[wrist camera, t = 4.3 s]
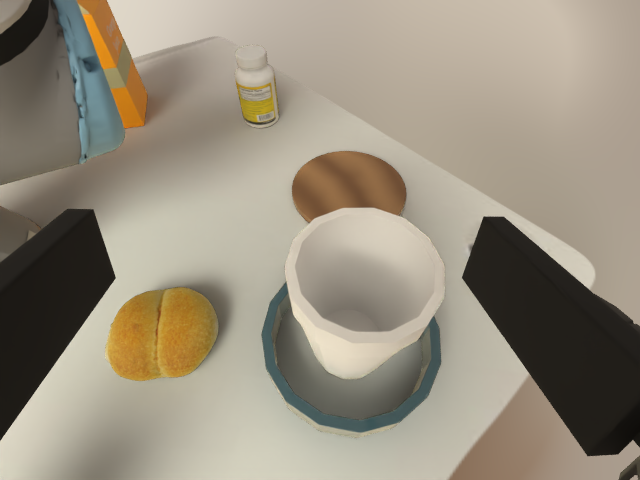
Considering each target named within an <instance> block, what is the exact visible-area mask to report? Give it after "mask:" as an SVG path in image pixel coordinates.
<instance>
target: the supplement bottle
mask: <svg viewBox="0 0 640 480" xmlns="http://www.w3.org/2000/svg"><path fill="white" fill-rule="evenodd" d="M235 54H236V60H237V64H238V66H239V67H238V68H237V69H236V71H235V81H236V85H237V90H238V94H239V99H240V104H241V108H242V113H243V117H244V120H245V122H246V123H247V124H248V125H250V126H252V127H256V128H265V127H269V126H271V125H273V124H275V123H276V122H277V120H278V119H279V108H278V100H277V92H276V83H275V75H274V70H273V68H272V67H271V66H270V65H269V64H267V54H266V50H265V48H264V47H261V46H258V45H247V46H243V47H240V48H239V49H237V50H236V53H235Z"/></svg>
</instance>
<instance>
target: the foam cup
mask: <svg viewBox="0 0 640 480" xmlns="http://www.w3.org/2000/svg"><path fill="white" fill-rule="evenodd" d="M284 267H285V274H286V281H287V287H288V292H289V297H290V301H291V306H292V311H293V316H294V317H295V318H296V319H297V321H298V322H299V323H300V324H301V325H302V328H303V330H304V332H305V334H306V336H307V339H308V341H309V343H310V345H311V347H312V350H313V352H314V354H315V356H316V358H317V360H318V361H319V362H320V363H321V365H322V366H323V367H324V368H325V370H326V371H327V372H329V373H331V374H333V375H335V376H337V377H339V378H341V379H360V378H362V377H364V376H366V375H367V374H369V373H371V372H373V371H374V370H376V369H377V368H378V367H380V366H381V365H382V364H383V363H385V362H386V361H387V360H388V359H389V358H391V357H392V356H393V355H394V354H396V353H397V352H398V351H399V350H401V349H403V348H405V347H407V346H409V345H410V344H412V343H414V342H416V341H417V340H418V339H419V337H420V336H421V334H422V333H423V331H424V330H425V328H426V327H427V325H428V324H429V322H430V320H431V319H432V317H433V315H434V314H435V312H436V310H437V309H438V307H439V306H440V304H441V302H442V301H443V299H444V297H445V265H444V263H443V261H442V260H441V258H440V256H439V254H438V252H437V251H436V249H435V247H434V245H433V243H432V241H431V240H430V238H429V237H428V236H427V235H425V234H424V233H423V232H422V231H420V230H419V229H418V228H417V227H415V226H414V225H413V224H411V223H410V222H409V221H408V220H406V219H405V218H403V217H400V216H397V215H394V214H391V213H388V212H385V211H382V210H379V209H376V208H341V209H338V210H336V211H333V212H330V213H328V214H325V215H322V216H320V217H317V218H314V219H313V220H312V221H311V222H310V223H309V224H308V225H307V226H306V227H305V228H304V229H303V230H302V231H301V232H300V233H299V234H298V235H297V236H296V237H295V238H294V239H293V242H292V245H291V248H290V251H289V254H288V257H287V260H286V263H285V266H284Z"/></svg>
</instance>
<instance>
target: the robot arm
mask: <svg viewBox="0 0 640 480" xmlns="http://www.w3.org/2000/svg"><path fill="white" fill-rule="evenodd" d="M124 137H125V130H124V126H123V122H122V119H121V116H120V113H119V111H118V108H117V105H116V102H115V100H114V97H113V94H112V91H111V89H110V86H109V83H108V81H107V78H106V76H105V73H104V71H103V68H102V66H101V64H100V60H99V57H98V55H97V52H96V50H95V47H94V43H93V41H92V38H91V35H90V33H89V30H88V28H87V25H86V22H85V20H84V17H83V15H82V12H81V10H80V7H79V5H78V2H77V0H0V185H3V184H7V183H10V182H14V181H17V180H21V179H25V178H28V177H32V176H36V175H39V174H43V173H47V172H50V171H54V170H57V169H61V168H65V167H68V166H72V165H76V164H82V163H85V162H86V161H87V160H88V159H91V158H93V157H96V156H99V155H102V154H104V153H107V152H110V151H113V150H115V149H116V148H118V147H119V146H120V145H121V144H122V142H123V140H124ZM115 278H116V277H115V274H114V271H113V268H112V265H111V262H110V259H109V256H108V253H107V250H106V247H105V244H104V241H103V238H102V235H101V232H100V229H99V226H98V223H97V219H96V216H95V213H94V210H93V209H67V210H66V211H64V212H63V213H62V214H61V215H59V216H58V217H57V218H56V219H54V220H53V221H52V222H50V223H49V224H48V225H47V226H45V227H44V228H43V229H41V228H40V227H39V226H38V225H36V224H35V223H34V222H33V221H31V220H29V219H28V218H25V217H23V216H21V215H19V214H17V213H14V212H12V211H10V210H8V209H5V208H3V207H1V206H0V440H1V439H2V437H3V436H4V435H5V433H6V432H7V430H8V429H9V428H10V426H11V425H12V423H13V422H14V421H15V419H16V418H17V416H18V415H19V414H20V412H21V411H22V409H23V408H24V407H25V405H26V404H27V402H28V401H29V399H30V398H31V397H32V395H33V394H34V392H35V391H36V390H37V388H38V387H39V385H40V384H41V383H42V381H43V380H44V378H45V377H46V376H47V374H48V373H49V371H50V370H51V368H52V367H53V366H54V364H55V363H56V361H57V360H58V359H59V357H60V356H61V354H62V353H63V352H64V350H65V349H66V347H67V346H68V345H69V343H70V342H71V340H72V339H73V338H74V336H75V335H76V333H77V332H78V330H79V329H80V328H81V326H82V325H83V323H84V322H85V321H86V319H87V318H88V316H89V315H90V314H91V312H92V311H93V309H94V308H95V307H96V305H97V304H98V302H99V301H100V299H101V298H102V297H103V295H104V294H105V292H106V291H107V290H108V288H109V287H110V285H111V284H112V283H113V281H114V280H115ZM462 279H463V280H464V281H465V283H466V284H467V286H468V287H469V288H470V290H471V291H472V293H473V294H474V296H475V297H476V298H477V300H478V301H479V303H480V304H481V305H482V307H483V308H484V310H485V311H486V313H487V314H488V315H489V317H490V318H491V320H492V321H493V322H494V324H495V325H496V327H497V328H498V330H499V331H500V332H501V334H502V335H503V337H504V338H505V339H506V341H507V342H508V344H509V345H510V347H511V348H512V349H513V351H514V352H515V354H516V355H517V356H518V358H519V359H520V361H521V362H522V364H523V365H524V366H525V368H526V369H527V371H528V372H529V374H530V375H531V376H532V378H533V379H534V381H535V382H536V383H537V385H538V386H539V388H540V389H541V390H542V392H543V393H544V395H545V396H546V398H547V399H548V400H549V402H550V403H551V405H552V406H553V408H554V409H555V410H556V412H557V413H558V415H559V416H560V417H561V419H562V420H563V422H564V423H565V425H566V426H567V427H568V429H569V430H570V432H571V433H572V434H573V436H574V437H575V439H576V440H577V442H578V443H579V444H580V446H581V447H582V449H583V450H584V451H585V453H586V454H587V456H599V455H616V454H619V453H620V452H621V451H622V450H623V449H624V448H625V447H626V446H627V445H628V444H629V443H630V442H631V441H632V440H634V441H635V443H636V444H637V445H638V446H639V447H640V326H639V325H637V324H634V323H633V320H631V319H630V318H629V317H628V316H627V315H625V314H624V313H623V312H622V311H621V310H619V309H618V308H617V307H616V306H614V305H612V304H611V303H609V302H607V301H605V300H604V299H602V298H600V297H599V296H597V295H595V294H593V293H592V292H591V291H590V290H589V289H588V288H586V287H585V286H584V285H583V284H582V283H581V282H579V281H578V280H577V279H576V278H575V277H574V276H572V275H571V274H570V273H569V272H568V271H567V270H565V269H564V268H563V267H562V266H561V265H560V264H558V263H557V262H556V261H555V260H554V259H553V258H551V257H550V256H549V255H548V254H547V253H546V252H544V251H543V250H542V249H541V248H540V247H539V246H537V245H536V244H535V243H534V242H533V241H532V240H530V239H529V238H528V237H527V236H526V235H525V234H523V233H522V232H521V231H520V230H519V229H518V228H516V227H515V226H514V225H513V224H512V223H511V222H509V221H508V220H507V219H506V218H505V217H483V220H482V223H481V226H480V228H479V231H478V234H477V237H476V240H475V242H474V245H473V248H472V251H471V254H470V256H469V259H468V262H467V265H466V268H465V270H464V273H463V276H462ZM634 475H638V480H640V456H639V457H638V458H636V459H635V460H634V461H633V462H632V463H631V464H630V465H629V466H628V467H627V468H626V469H624V470H623V471H622V472H621V473H620V477H619V480H630V478H632V477H633V476H634Z"/></svg>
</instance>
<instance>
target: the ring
mask: <svg viewBox="0 0 640 480" xmlns="http://www.w3.org/2000/svg"><path fill="white" fill-rule="evenodd" d="M290 306H291V301H290V297H289V292H288V287H287V281H286V283H285V284H284V285H283V286H282V288H281V289H280V290H279V292H278V293H277V294H276V295H275V297H274V298H273V299H272V301H271V302H270V305H269V308H268V312H267V315H266V319H265V323H264V326H263V330H262V342H263V349H264V357H265V364H266V369H267V372H268V374H269V376H270V379H271V381H272V382H273V384H274V386H275V387H276V389H277V391H278V392H279V394H280V396H281V397H282V399H283V401H284V402H285V404H286V406H287V407H288V409H289V410H290V411H292V412H293V413H294V414H296V415H297V416H299V417H300V418H301V419H303V420H304V421H306V422H307V423H308V424H310V425H311V426H313V427H314V428H316V429H317V430H318V431H320V432H326V433H331V434H336V435H342V436H347V437H352V438H360V437H363V436H367V435H370V434H374V433H378V432H381V431H385V430H389V429H392V428H394V427H395V426H396V425H397V424H398V423H400V422H401V421H402V420H403V419H404V418H405V417H406V416H407V415H408V414H410V413H411V412H412V411H413V410H414V409H415V408H416V407H417V406H418V405H420V404H421V403H422V402H423V401H424V400H425V399H426V398H427V397H428V396H429V393H430V390H431V388H432V385H433V383H434V380H435V378H436V375H437V373H438V370H439V367H440V365H441V349H440V330H439V326H438V324H437V322H436V320H435V318H434V315H433V317H432V319H431V320H430V322H429V324H428V325H427V327H426V328H425V330H424V331H423V333H422V334H421V336H420V338H421V346H422V371H421V373H420V375H419V378H418V380H417V383H416V385H415V387H414V390H413V392H412V394H411V396H410V397H409V398H408V399H407V400H405V401H404V402H403V403H402V404H401V405H400V406H399V407H397V408H396V409H395V410H394V411H392V412H388V413H384V414H381V415H377V416H373V417H369V418H366V419H362V420H356V419H351V418H345V417H340V416H334V415H329V414H324V413H322V412H321V411H319V410H318V409H316V408H315V407H313V406H312V405H310V404H309V403H308V402H306V401H305V400H303V399H302V398H300V397H299V396H297V395H296V394H294V392H293V391H292V389H291V388H290V386H289V384H288V383H287V381H286V380H285V378H284V376H283V375H282V373H281V372H280V370H279V368H278V362H277V356H276V349H275V343H276V339H277V335H278V331H279V327H280V323H281V318H282V317H283V316H284V314H285V313H286V312H287V310H288V309H289V308H290Z"/></svg>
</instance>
